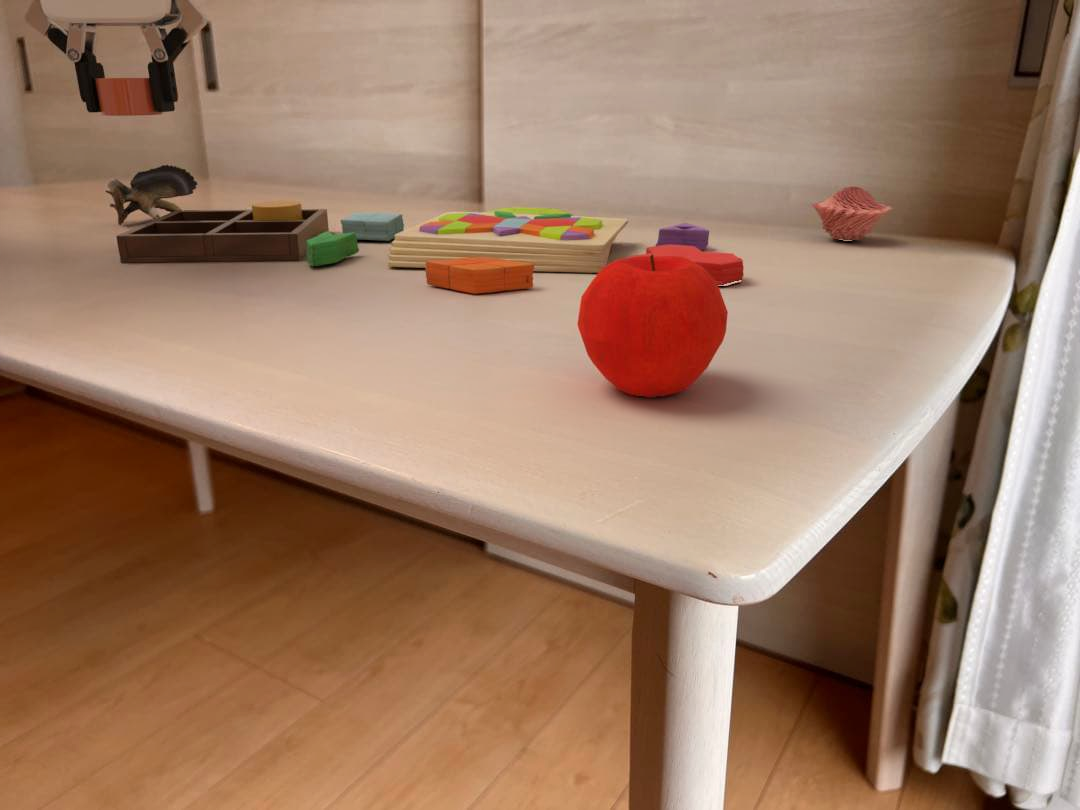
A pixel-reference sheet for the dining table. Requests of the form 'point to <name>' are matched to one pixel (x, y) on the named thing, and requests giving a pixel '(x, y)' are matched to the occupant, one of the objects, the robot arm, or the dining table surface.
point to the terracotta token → (125, 96)
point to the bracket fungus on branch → (151, 191)
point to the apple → (652, 323)
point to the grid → (220, 237)
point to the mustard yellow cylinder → (277, 210)
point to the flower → (850, 213)
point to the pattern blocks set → (509, 246)
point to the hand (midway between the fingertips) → (131, 109)
